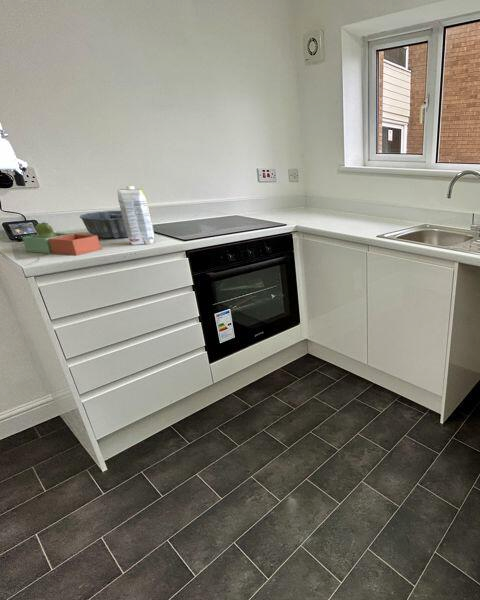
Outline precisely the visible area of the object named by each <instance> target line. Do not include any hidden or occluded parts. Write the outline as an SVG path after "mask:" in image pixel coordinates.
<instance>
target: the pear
mask: <svg viewBox="0 0 480 600" xmlns="http://www.w3.org/2000/svg"><path fill="white" fill-rule="evenodd" d="M34 229H35V231H36V232H37V235H38V238H50V237H56V236H57V235H56V234H55V233H56V232H55V231H54V230H53V227H52V226H51V225H50V224H49V222H45V221H43V222H41V223H40V222H38V223H37V224H36V225H35V227H34Z"/></svg>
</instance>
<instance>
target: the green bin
mask: <svg viewBox="0 0 480 600" xmlns="http://www.w3.org/2000/svg"><path fill="white" fill-rule="evenodd" d="M54 233H55V234H56V235H57V236H56V237H62V236H67V235H73V233H65V232H54ZM56 237H50V238H38V234H33V235H26V236H21V239H22V242H23V244H24V247H25V250H26V252H29V253H40V254H41V253H44V254H54V253H53V251H52V248H51V245H50V242H49V239H51V238H56Z"/></svg>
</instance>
